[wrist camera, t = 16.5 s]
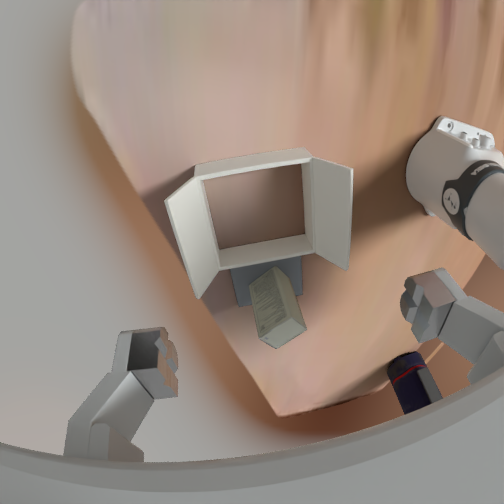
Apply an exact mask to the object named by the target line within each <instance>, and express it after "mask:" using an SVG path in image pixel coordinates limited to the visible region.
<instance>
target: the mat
mask: <svg viewBox="0 0 504 504" xmlns="http://www.w3.org/2000/svg"><path fill="white" fill-rule="evenodd" d="M274 266H277V267H278V268H279V269H280V270H281V271H282V272H283V273H284V274H285V275H286V276H288V277H289V278H290V281H291V284H292V287H293V290H294V293H295V295H296V296H299V295H303V294H302V266H301V256H296V257H291V258H286V259H280V260H275V261H270V262H264V263H259V264H254V265H248V266H243V267H237V268H232V269H230V272H231V276H232V281H233V285H234V289H235V293H236V298H237V302H238V306H239V307H241V306H247V305H252V300H251V295H250V290H249V285H250V284H251V283H252V282H254V281H255V280H256V279H258V278H259V277H260V276H262V275H263V274H265V273H266V272H267V271H269V270H270V269H271V268H273V267H274Z"/></svg>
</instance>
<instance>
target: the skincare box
mask: <svg viewBox="0 0 504 504" xmlns="http://www.w3.org/2000/svg"><path fill="white" fill-rule="evenodd" d="M249 290H250V295H251V300H252V305H253V310H254V315H255V321H256V326H257V331H258V336H259V339H260V340H262V341H263V342H265V343H267V344H268V345H270V346H271V347H273V348H275V349H277V348H279V347H281V346H282V345H284V344H286V343H287V342H289V341H290V340H292V339H294V338H295V337H297V336H298V335H300V334H301V333H303V332H304V331H306V330H307V327H306V324H305V322H304V319H303V316H302V313H301V310H300V307H299V304H298V301H297V298H296V295H295V293H294V290H293V287H292V284H291V281H290V278H289V277H288V276H286V275H285V274H284V273H283V272H282V271H281V270H280V269H279V268H278V267H277V266H274V267H273V268H271V269H270V270H269V271H267V272H266V273H265V274H263V275H262V276H260V277H259V278H258V279H256V280H255V281H254V282H252V283H251V284H250V285H249Z"/></svg>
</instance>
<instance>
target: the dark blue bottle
mask: <svg viewBox="0 0 504 504" xmlns="http://www.w3.org/2000/svg"><path fill="white" fill-rule="evenodd" d="M387 374H388V377H389V379H390V381H391V383H392V386H393V388H394V390H395V392H396V395H397V397H398V400H399V402H400V404H401V407H402V409H403V412H404V414H405V415H406V414H409V413H411V412H414V411H416V410H418V409H421V408H423V407H425V406H428V405H430V404H432V403H435V402H437V401H439V400H441V399H443V398H442V396H441V393H440V391H439V389H438V387H437V385H436V383H435V381H434V379H433V377H432V375H431V373H430V371H429V369H428V368H427V366H426V364H425V362H424V360H423V358H422V356H421V354H419V353H418V352H416V351H415V352H414V353H412V354H409V355H406V356H404V357H402V358H401V356H398V357H396V358H395V359H394V363H393V364H392V365H391V366H390V367H389V369H388V371H387Z"/></svg>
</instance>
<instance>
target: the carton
mask: <svg viewBox="0 0 504 504" xmlns="http://www.w3.org/2000/svg"><path fill="white" fill-rule="evenodd" d="M299 163H301V168H302V183H303V200H304V219H305V234H302V235H296V236H291V237H285V238H280V239H274V240H269V241H264V242H258V243H253V244H247V245H242V246H236V247H231V248H226V249H220V250H219V247H218V243H217V238H216V234H215V230H214V226H213V222H212V217H211V213H210V209H209V204H208V200H207V196H206V191H205V187H204V182H203V180H205V179H210V178H215V177H220V176H226V175H231V174H237V173H242V172H248V171H254V170H260V169H266V168H272V167H279V166H286V165H292V164H299ZM352 201H353V168H350V167H347V166H344V165H341V164H338V163H334V162H331V161H328V160H325V159H321V158H318V157H313V156H312V155H311V154H310V153H309V151H308V150H307V149H306V148H305V147H299V148H292V149H285V150H278V151H271V152H264V153H258V154H252V155H246V156H240V157H234V158H229V159H223V160H218V161H213V162H208V163H203V164H198V165H195V171H194V177H192V178H191V179H189V180H188V181H187V182H186V183H184V184H183V185H182V186H181V187H180V188H178V189H177V190H176V191H175V192H174V193H172V194H171V195H170V196H169V197H168V198H166V199H165V200H164V202H165V205H166V209H167V212H168V215H169V219H170V222H171V225H172V228H173V231H174V235H175V238H176V241H177V244H178V247H179V250H180V253H181V256H182V259H183V262H184V265H185V268H186V271H187V274H188V277H189V280H190V283H191V285H192V288H193V291H194V294H195V297H196V298H197V299H200V298H201V296H202V295H203V293H204V292H205V290H206V289H207V288H208V286H209V285H210V283H211V282H212V280H213V279H214V278H215V276H216V275H217V273H218V272H219V271H221V270H226V269H232V268H237V267H243V266H248V265H254V264H259V263H264V262H270V261H275V260H280V259H286V258H291V257H296V256H301V255H307V254H312V253H316V254H318V255H320V256H321V257H323V258H325V259H326V260H328V261H330V262H332V263H333V264H335V265H337V266H338V267H340V268H342V269H343V270H345V271H347V270H348V268H349V255H350V241H351V224H352Z"/></svg>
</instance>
